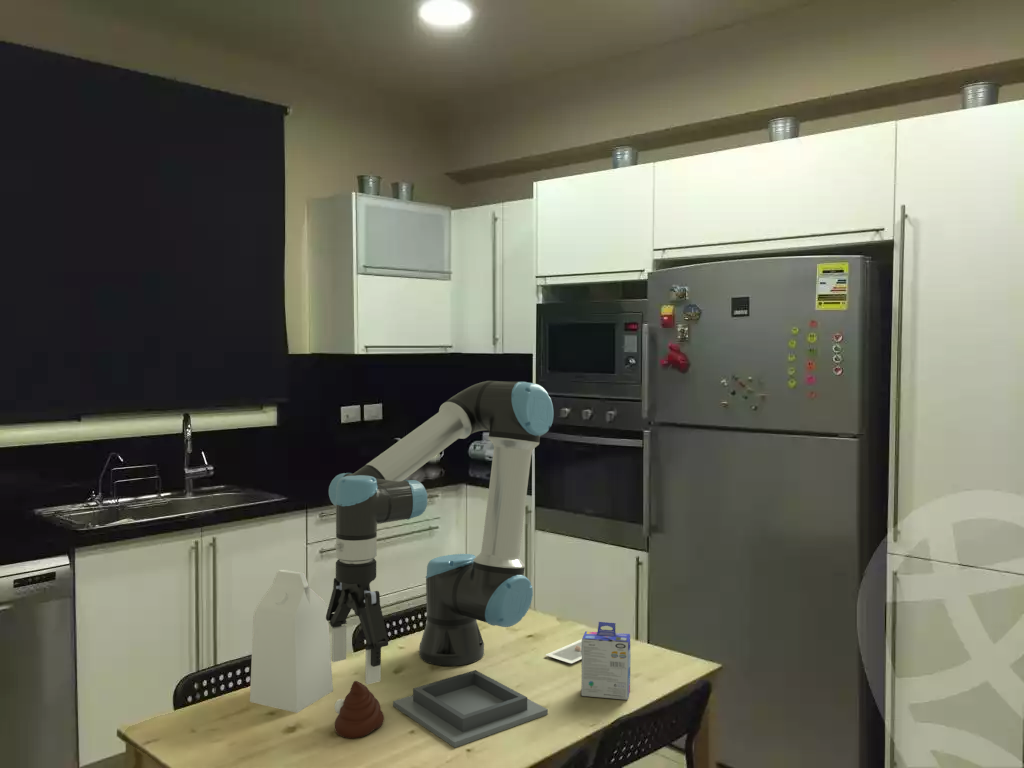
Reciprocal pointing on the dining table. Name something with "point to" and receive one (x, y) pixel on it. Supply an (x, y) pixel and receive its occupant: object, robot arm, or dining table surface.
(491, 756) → the dining table surface
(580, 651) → the touchpad
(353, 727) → the poop emoji
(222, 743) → the dining table surface
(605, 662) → the ink cartridge box
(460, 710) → the pocket plate
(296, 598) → the milk
